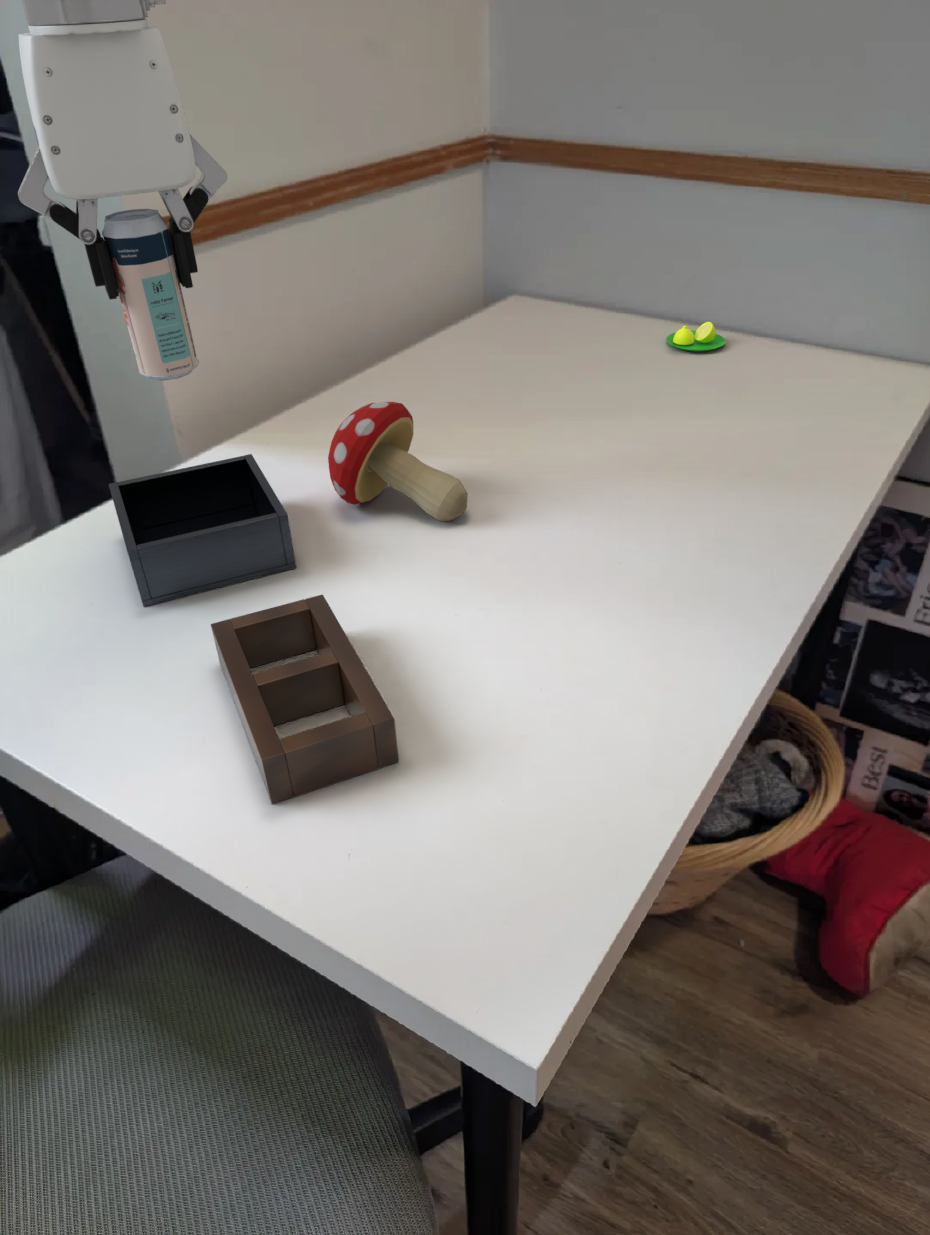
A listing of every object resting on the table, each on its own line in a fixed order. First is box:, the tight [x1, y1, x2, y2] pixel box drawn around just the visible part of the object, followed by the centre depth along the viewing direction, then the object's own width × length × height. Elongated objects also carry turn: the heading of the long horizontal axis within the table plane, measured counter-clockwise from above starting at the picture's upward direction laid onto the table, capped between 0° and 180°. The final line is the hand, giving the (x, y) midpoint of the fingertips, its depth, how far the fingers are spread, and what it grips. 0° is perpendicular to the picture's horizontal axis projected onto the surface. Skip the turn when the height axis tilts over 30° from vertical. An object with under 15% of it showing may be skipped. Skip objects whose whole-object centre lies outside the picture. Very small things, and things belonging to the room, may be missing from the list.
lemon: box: [665, 321, 726, 353], centre depth 126 cm, size 8×8×3 cm
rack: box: [210, 594, 400, 805], centre depth 66 cm, size 9×16×4 cm, turn 24°
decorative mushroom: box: [327, 401, 469, 522], centre depth 90 cm, size 11×11×15 cm
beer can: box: [101, 208, 200, 381], centre depth 71 cm, size 5×5×12 cm
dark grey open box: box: [108, 453, 297, 607], centre depth 85 cm, size 14×14×6 cm
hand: (148, 286), depth 71 cm, fingers closed on beer can, 4 cm apart
